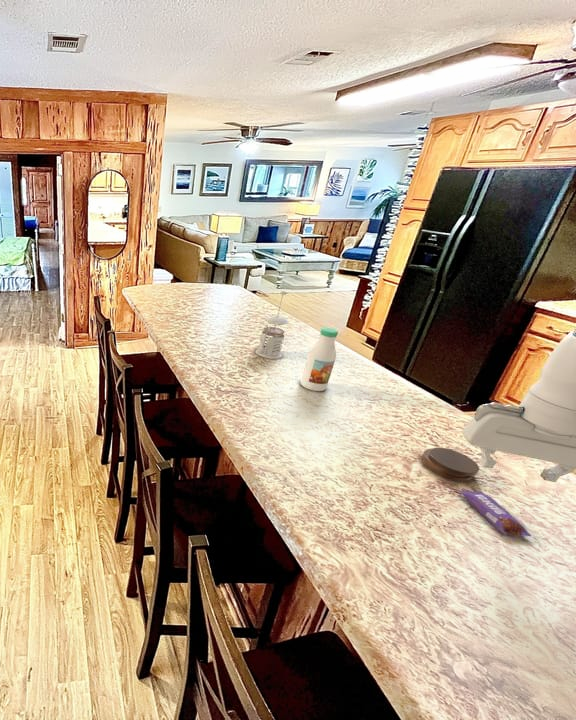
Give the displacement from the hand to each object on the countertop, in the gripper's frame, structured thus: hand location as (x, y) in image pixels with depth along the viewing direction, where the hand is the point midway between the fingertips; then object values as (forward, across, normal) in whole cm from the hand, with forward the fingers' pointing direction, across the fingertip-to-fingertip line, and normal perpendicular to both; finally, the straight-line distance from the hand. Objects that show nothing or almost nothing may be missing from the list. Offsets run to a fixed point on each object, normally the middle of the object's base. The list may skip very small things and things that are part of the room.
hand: (515, 472), depth 75 cm
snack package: (+12, 0, 0) cm, 12 cm away
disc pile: (+11, -3, +14) cm, 18 cm away
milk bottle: (+12, -29, +46) cm, 55 cm away
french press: (+12, -43, +67) cm, 80 cm away
